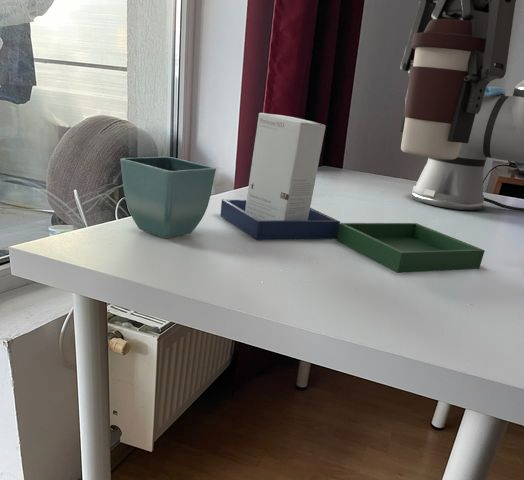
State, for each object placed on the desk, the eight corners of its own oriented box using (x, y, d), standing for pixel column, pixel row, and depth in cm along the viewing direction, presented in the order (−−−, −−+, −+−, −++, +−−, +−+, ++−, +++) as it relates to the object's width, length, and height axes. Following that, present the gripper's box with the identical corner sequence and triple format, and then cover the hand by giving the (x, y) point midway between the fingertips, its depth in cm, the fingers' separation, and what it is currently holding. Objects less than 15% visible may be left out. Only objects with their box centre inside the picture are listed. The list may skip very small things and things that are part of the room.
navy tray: (294, 216, 92) (296, 200, 90) (337, 239, 81) (340, 221, 80) (220, 216, 86) (221, 199, 85) (256, 240, 75) (258, 221, 74)
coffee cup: (457, 156, 76) (489, 31, 70) (475, 165, 67) (514, 23, 61) (386, 146, 77) (411, 22, 70) (394, 154, 68) (424, 12, 61)
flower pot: (212, 235, 75) (218, 167, 71) (168, 246, 68) (171, 171, 64) (164, 221, 79) (167, 155, 75) (118, 229, 72) (118, 158, 68)
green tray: (412, 239, 86) (416, 222, 85) (479, 268, 75) (485, 250, 74) (336, 240, 80) (339, 222, 79) (397, 272, 69) (402, 252, 68)
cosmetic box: (243, 218, 84) (253, 112, 77) (269, 214, 88) (281, 113, 81) (285, 232, 79) (300, 120, 72) (311, 227, 83) (327, 121, 77)
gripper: (397, -74, 68) (361, 125, 78) (539, -111, 51) (471, 147, 61) (443, -60, 71) (403, 129, 81) (591, -91, 54) (518, 151, 64)
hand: (432, 137), depth 71 cm, fingers closed on coffee cup, 8 cm apart
